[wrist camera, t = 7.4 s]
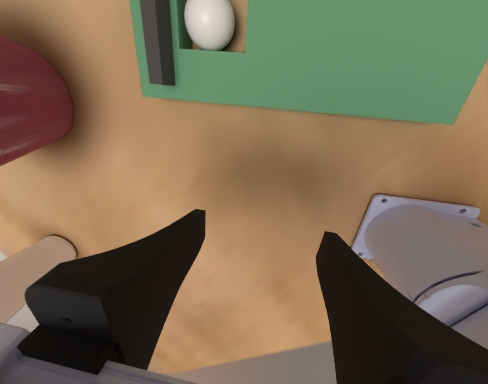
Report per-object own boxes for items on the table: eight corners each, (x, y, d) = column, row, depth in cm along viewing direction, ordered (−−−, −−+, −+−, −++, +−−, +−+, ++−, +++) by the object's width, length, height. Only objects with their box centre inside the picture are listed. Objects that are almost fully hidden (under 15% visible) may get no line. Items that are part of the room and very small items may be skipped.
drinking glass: (33, 234, 31) (-153, 339, 17) (63, 226, 29) (-121, 337, 16) (62, 265, 33) (-82, 379, 20) (91, 260, 31) (-46, 381, 18)
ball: (234, 7, 16) (226, -38, 12) (240, 56, 16) (234, 27, 13) (190, 16, 16) (170, -24, 12) (198, 64, 17) (181, 38, 13)
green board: (535, -104, 11) (816, -322, 5) (429, 121, 16) (511, 134, 11) (137, -98, 13) (33, -243, 8) (158, 96, 19) (106, 96, 13)
